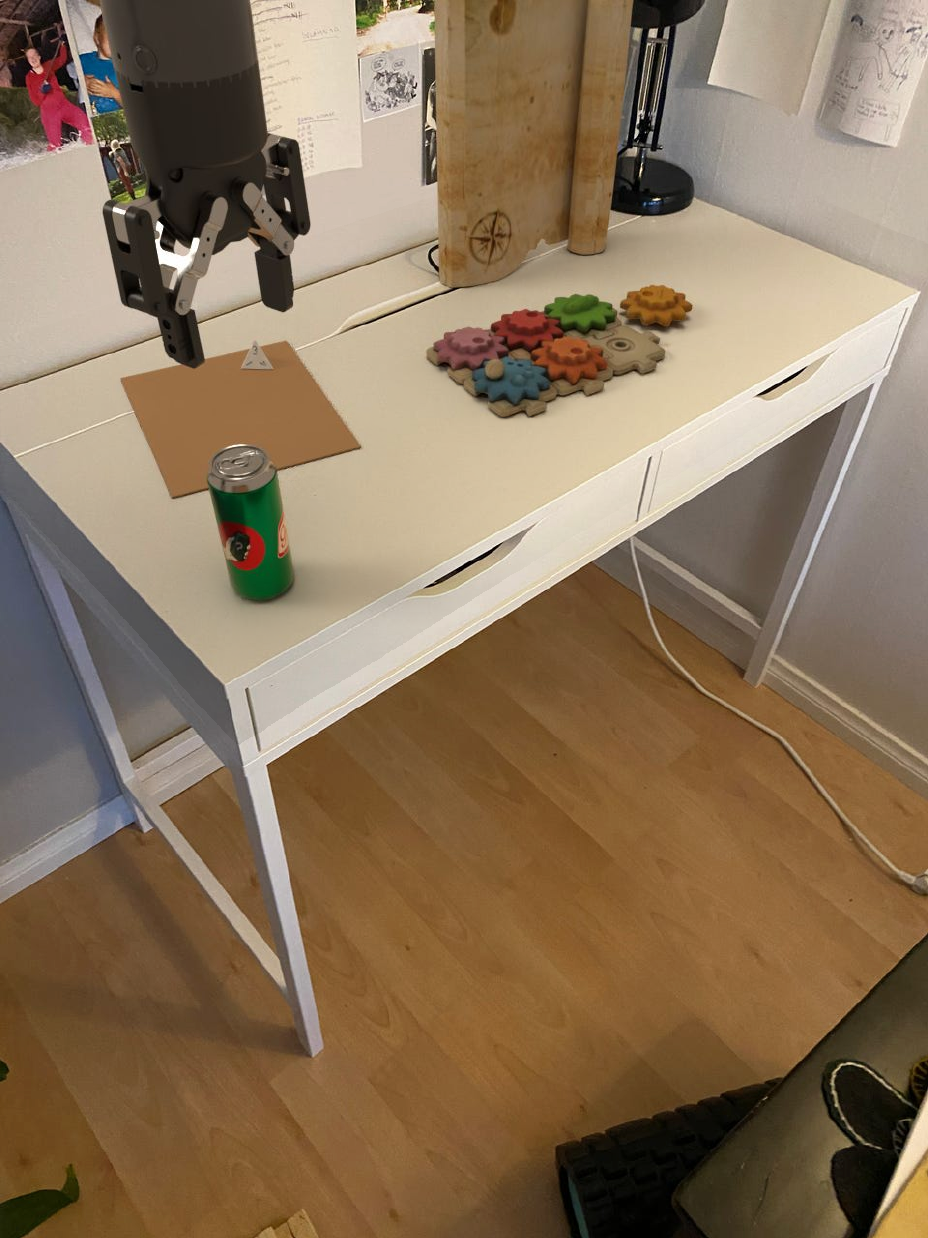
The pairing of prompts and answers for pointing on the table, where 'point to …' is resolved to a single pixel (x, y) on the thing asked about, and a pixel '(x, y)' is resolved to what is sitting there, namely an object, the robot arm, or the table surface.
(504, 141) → the parchment
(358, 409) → the table surface
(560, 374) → the gear puzzle
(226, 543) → the soda can
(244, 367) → the tetrahedral die
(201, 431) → the kraft paper
